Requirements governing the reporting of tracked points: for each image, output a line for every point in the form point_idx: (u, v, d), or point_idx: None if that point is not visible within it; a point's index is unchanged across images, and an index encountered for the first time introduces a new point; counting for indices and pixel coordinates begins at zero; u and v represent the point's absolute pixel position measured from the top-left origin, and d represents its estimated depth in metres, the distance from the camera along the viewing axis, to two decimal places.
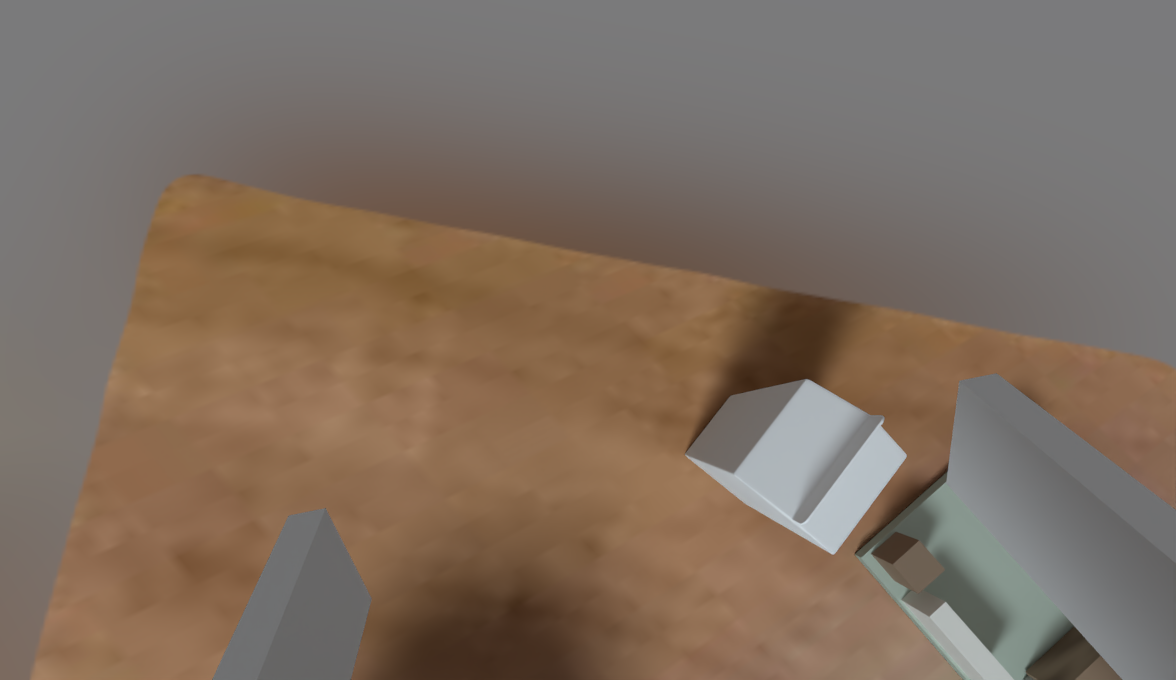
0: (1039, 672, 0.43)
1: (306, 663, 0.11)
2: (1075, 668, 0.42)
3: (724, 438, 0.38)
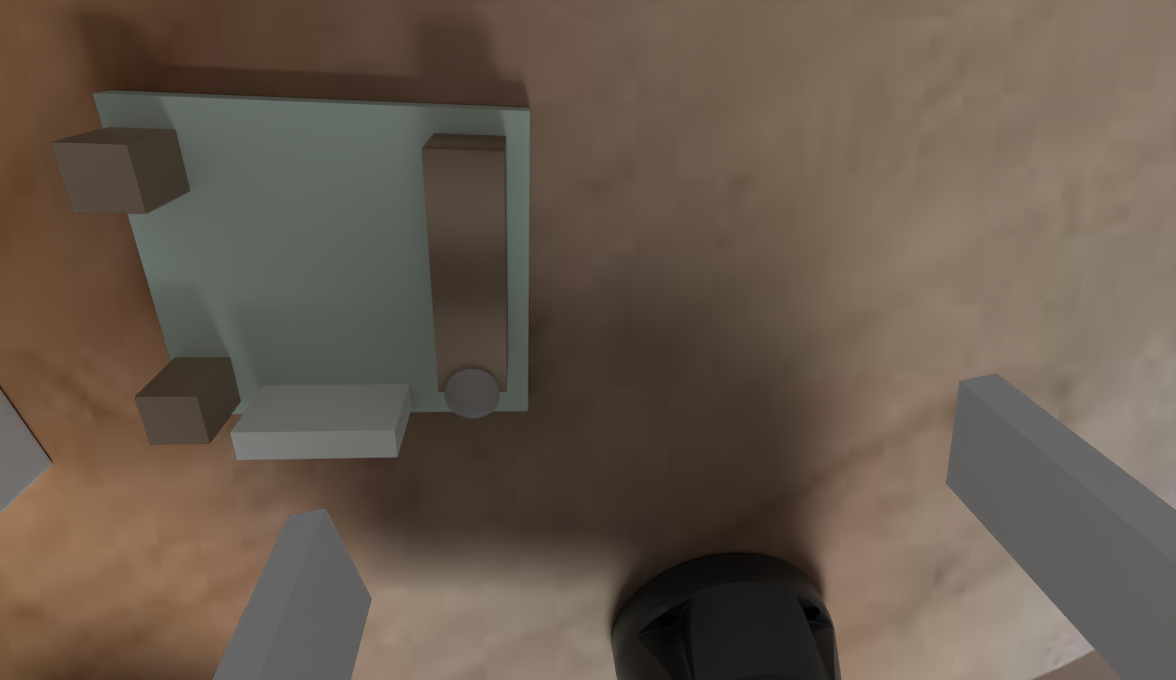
0: None
1: (306, 663, 0.11)
2: None
3: None
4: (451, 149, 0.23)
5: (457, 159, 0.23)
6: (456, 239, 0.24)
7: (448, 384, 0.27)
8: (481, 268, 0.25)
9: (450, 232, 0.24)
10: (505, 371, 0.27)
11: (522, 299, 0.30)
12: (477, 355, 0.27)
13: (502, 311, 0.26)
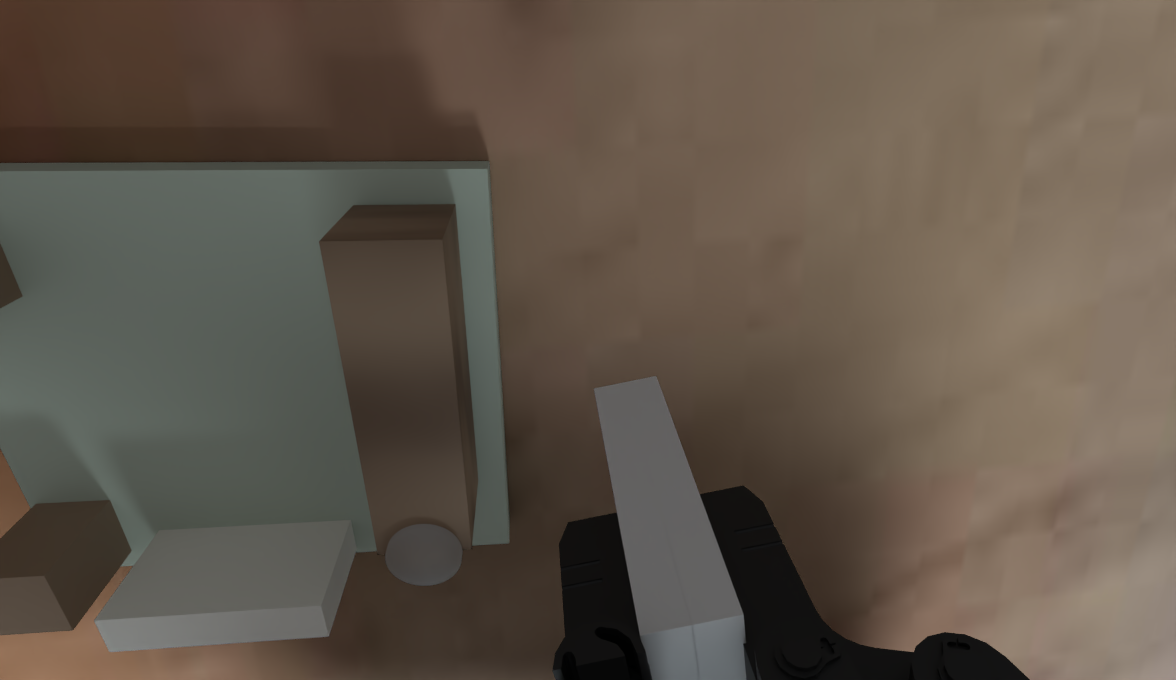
0: None
1: None
2: None
3: None
4: (364, 240, 0.16)
5: (374, 254, 0.16)
6: (383, 362, 0.17)
7: (389, 547, 0.20)
8: (423, 398, 0.18)
9: (373, 352, 0.17)
10: (468, 524, 0.20)
11: (493, 411, 0.22)
12: (427, 507, 0.19)
13: (458, 450, 0.19)
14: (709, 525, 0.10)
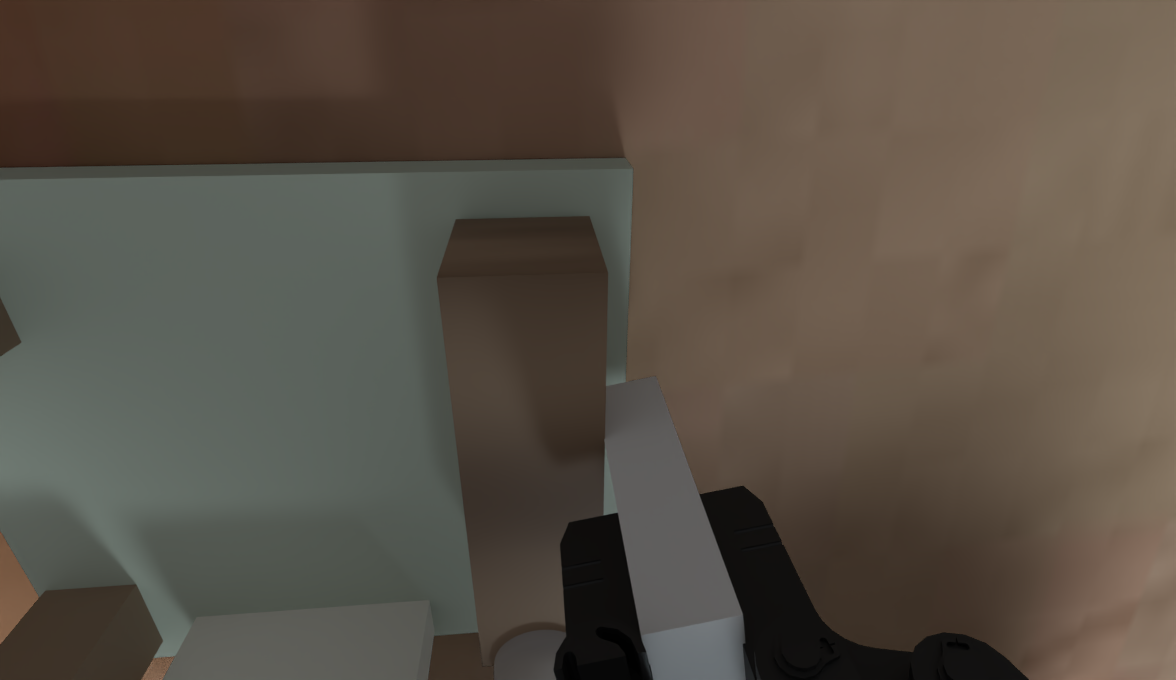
0: None
1: None
2: None
3: None
4: (498, 274, 0.11)
5: (511, 294, 0.11)
6: (511, 436, 0.12)
7: (500, 660, 0.15)
8: (559, 480, 0.13)
9: (499, 424, 0.12)
10: None
11: None
12: (550, 610, 0.15)
13: None
14: (708, 525, 0.10)
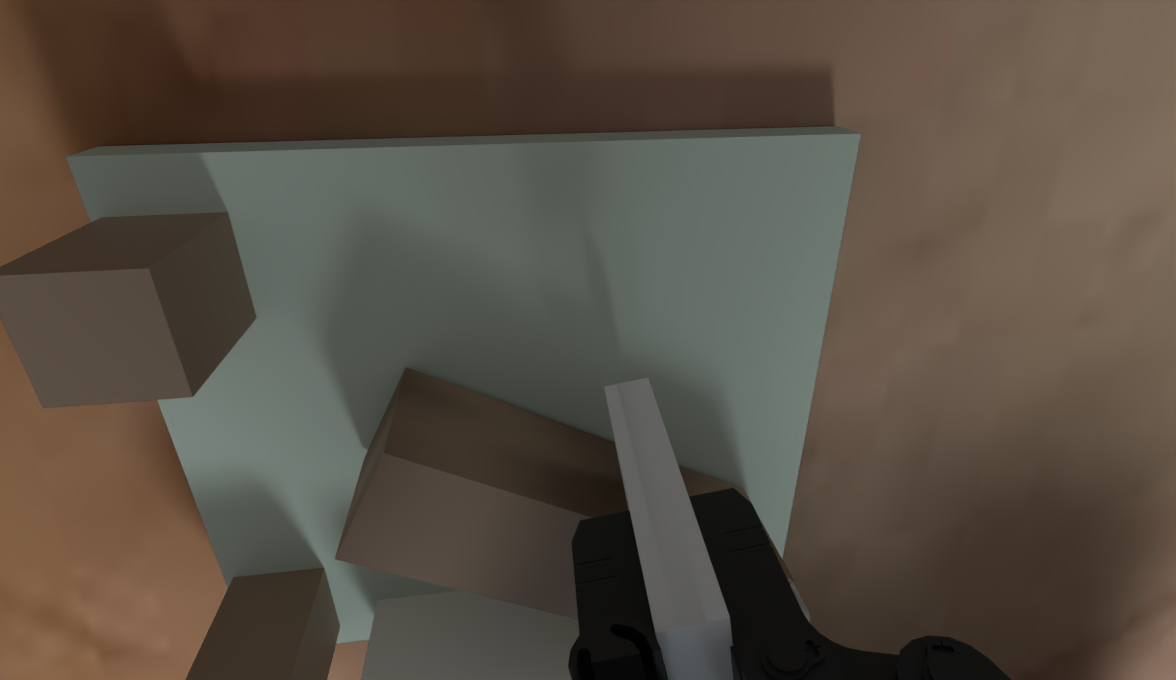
0: None
1: None
2: None
3: None
4: (352, 520, 0.13)
5: (371, 520, 0.13)
6: (504, 562, 0.14)
7: None
8: (570, 547, 0.14)
9: (488, 567, 0.14)
10: None
11: (795, 436, 0.18)
12: None
13: None
14: (697, 527, 0.10)
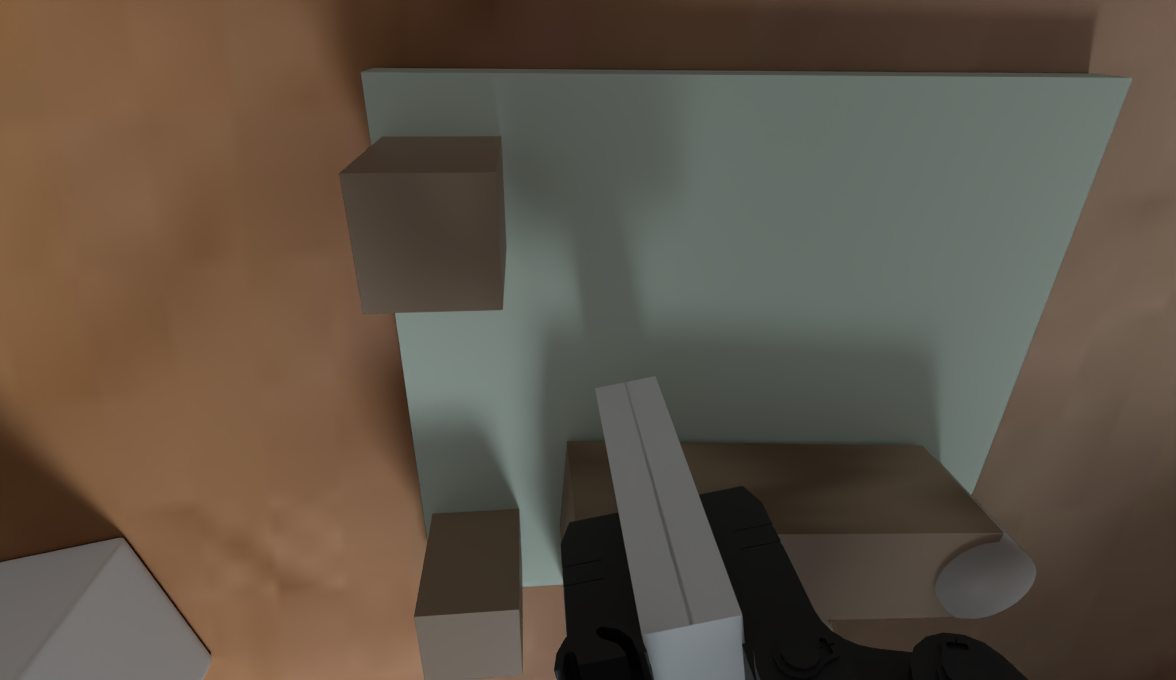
0: None
1: None
2: None
3: None
4: None
5: None
6: None
7: (953, 613, 0.16)
8: None
9: None
10: (963, 533, 0.15)
11: (999, 398, 0.18)
12: (916, 570, 0.16)
13: (849, 537, 0.15)
14: (708, 525, 0.10)
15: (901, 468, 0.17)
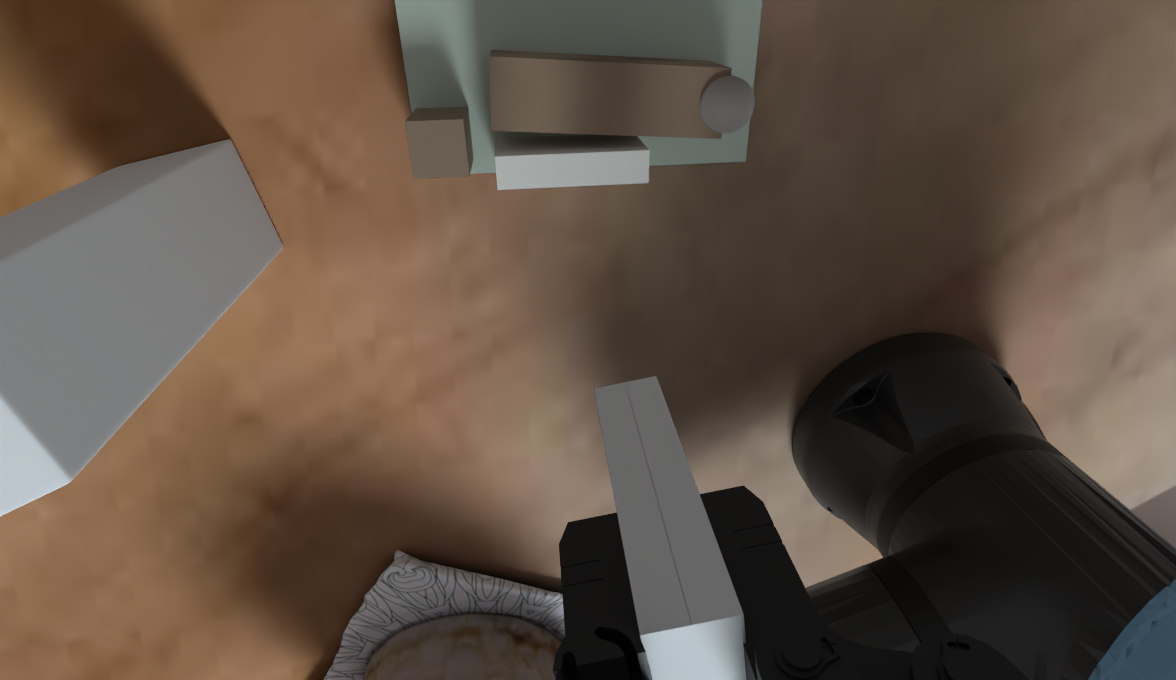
0: None
1: None
2: None
3: None
4: (490, 104, 0.27)
5: (498, 100, 0.27)
6: (569, 107, 0.27)
7: (712, 128, 0.28)
8: (598, 85, 0.27)
9: (562, 112, 0.27)
10: (708, 68, 0.27)
11: (753, 27, 0.30)
12: (686, 96, 0.28)
13: (642, 67, 0.27)
14: (709, 525, 0.10)
15: (689, 61, 0.29)
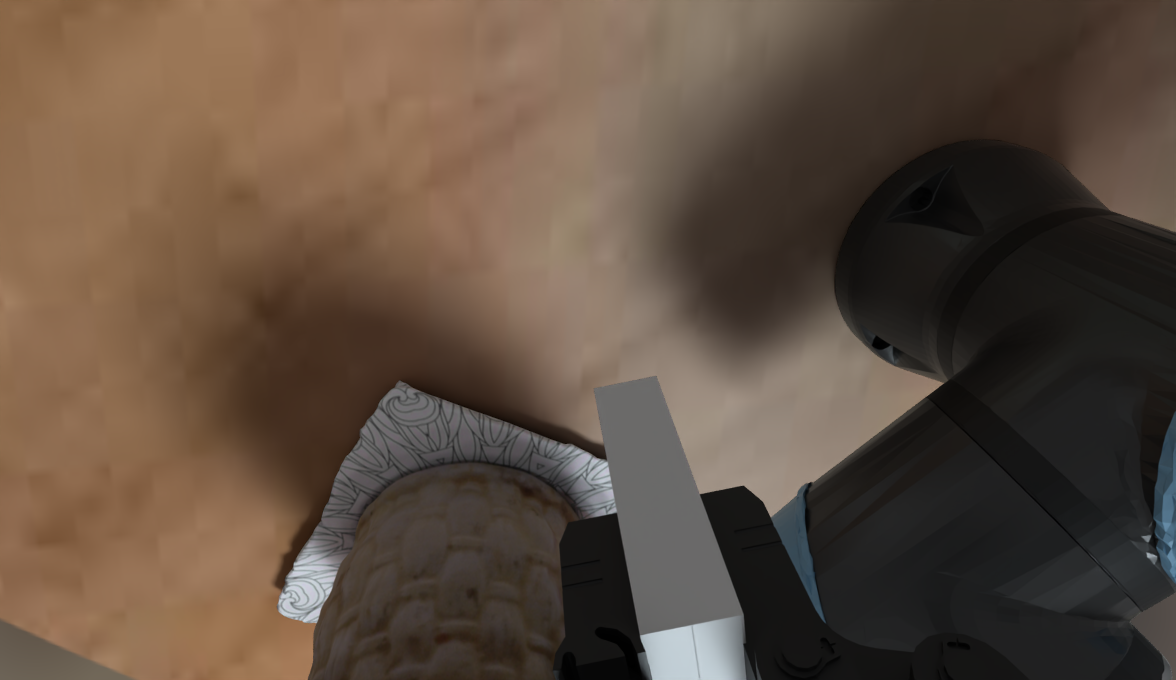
0: None
1: None
2: None
3: None
4: None
5: None
6: None
7: None
8: None
9: None
10: None
11: None
12: None
13: None
14: (709, 525, 0.10)
15: None
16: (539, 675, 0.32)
